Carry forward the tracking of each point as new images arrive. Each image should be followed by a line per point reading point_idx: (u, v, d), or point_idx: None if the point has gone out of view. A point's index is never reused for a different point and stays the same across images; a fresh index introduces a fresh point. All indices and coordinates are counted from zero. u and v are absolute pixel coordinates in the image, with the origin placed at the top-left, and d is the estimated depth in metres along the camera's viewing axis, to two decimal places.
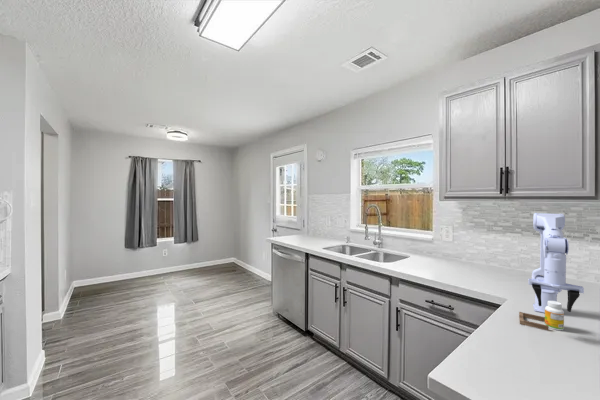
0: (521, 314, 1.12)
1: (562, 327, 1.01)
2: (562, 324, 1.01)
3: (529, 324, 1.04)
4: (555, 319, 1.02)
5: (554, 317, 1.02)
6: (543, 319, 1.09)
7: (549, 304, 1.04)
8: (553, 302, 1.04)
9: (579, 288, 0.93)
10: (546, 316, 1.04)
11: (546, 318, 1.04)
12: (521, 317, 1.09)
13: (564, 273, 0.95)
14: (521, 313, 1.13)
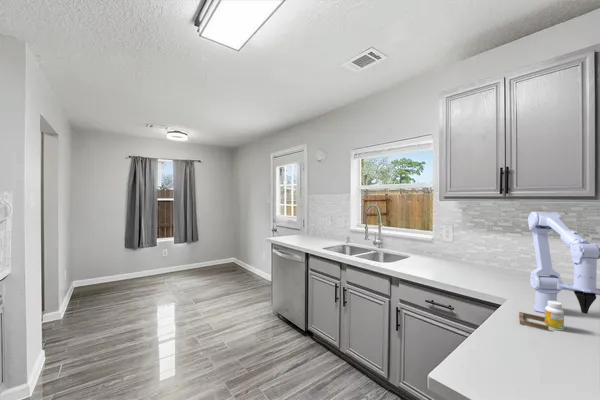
0: (521, 314, 1.12)
1: (562, 327, 1.01)
2: (562, 324, 1.01)
3: (529, 324, 1.04)
4: (555, 319, 1.02)
5: (554, 317, 1.02)
6: (543, 319, 1.09)
7: (549, 304, 1.04)
8: (553, 302, 1.04)
9: None
10: (546, 316, 1.04)
11: (546, 318, 1.04)
12: (521, 317, 1.09)
13: (595, 278, 0.96)
14: (521, 313, 1.13)
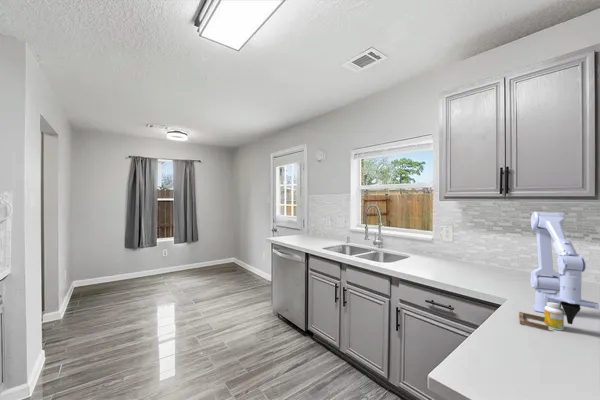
0: (521, 314, 1.12)
1: (562, 327, 1.01)
2: (562, 324, 1.01)
3: (529, 324, 1.04)
4: (555, 319, 1.02)
5: (554, 317, 1.02)
6: (543, 319, 1.09)
7: (548, 304, 1.04)
8: (552, 302, 1.04)
9: (594, 304, 0.97)
10: (546, 316, 1.04)
11: (545, 318, 1.05)
12: (521, 317, 1.09)
13: (580, 290, 0.99)
14: (521, 313, 1.13)
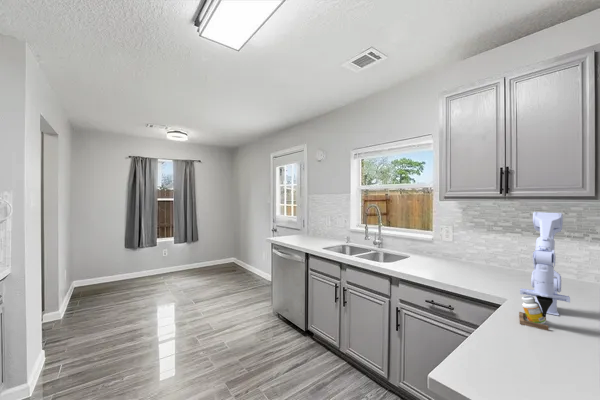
0: (521, 314, 1.12)
1: (543, 320, 1.04)
2: (542, 317, 1.05)
3: (529, 324, 1.04)
4: (534, 314, 1.05)
5: (532, 312, 1.05)
6: None
7: (523, 300, 1.08)
8: (526, 297, 1.08)
9: (566, 298, 1.01)
10: (526, 313, 1.08)
11: (526, 315, 1.08)
12: (521, 317, 1.09)
13: (552, 283, 1.03)
14: (521, 313, 1.13)
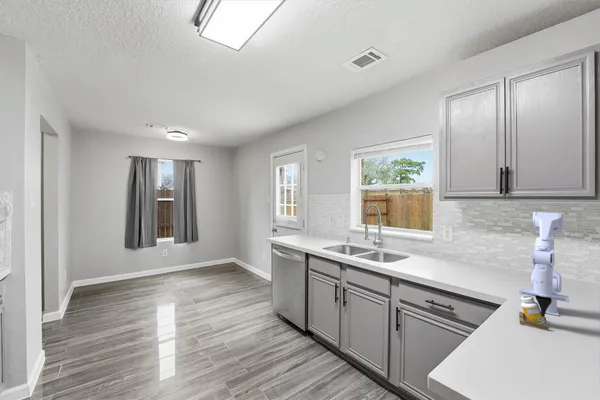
0: (521, 314, 1.12)
1: (542, 320, 1.05)
2: (541, 317, 1.05)
3: (529, 324, 1.04)
4: (533, 314, 1.05)
5: (531, 312, 1.06)
6: None
7: (522, 300, 1.08)
8: (525, 297, 1.09)
9: (565, 297, 1.01)
10: (525, 313, 1.08)
11: (525, 315, 1.08)
12: (521, 317, 1.09)
13: (551, 283, 1.03)
14: (521, 313, 1.13)
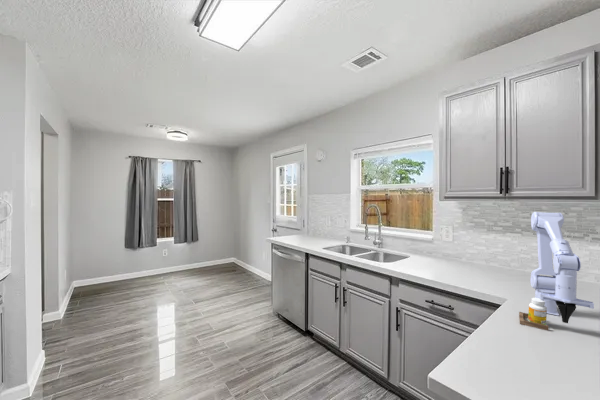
0: (521, 314, 1.12)
1: (544, 323, 1.04)
2: (545, 320, 1.04)
3: (529, 324, 1.04)
4: (538, 316, 1.04)
5: (538, 314, 1.05)
6: None
7: (533, 301, 1.06)
8: (537, 299, 1.06)
9: (589, 304, 0.97)
10: (530, 313, 1.07)
11: (529, 314, 1.07)
12: (521, 317, 1.09)
13: (575, 289, 0.99)
14: (521, 313, 1.13)
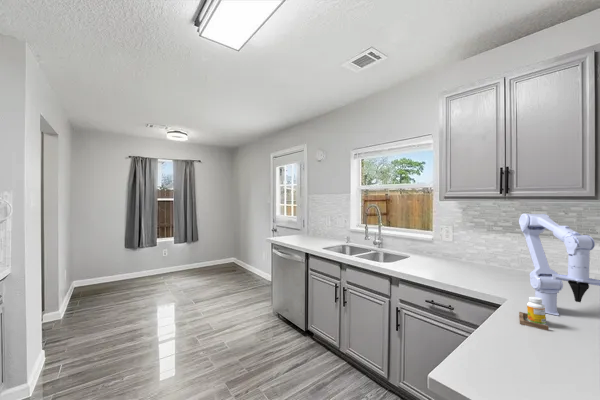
0: (521, 314, 1.12)
1: (544, 322, 1.05)
2: (544, 319, 1.05)
3: (529, 324, 1.04)
4: (538, 314, 1.05)
5: (537, 313, 1.05)
6: None
7: (531, 300, 1.07)
8: (534, 298, 1.08)
9: None
10: (529, 312, 1.07)
11: (529, 314, 1.07)
12: (521, 317, 1.09)
13: (588, 268, 1.01)
14: (521, 313, 1.13)
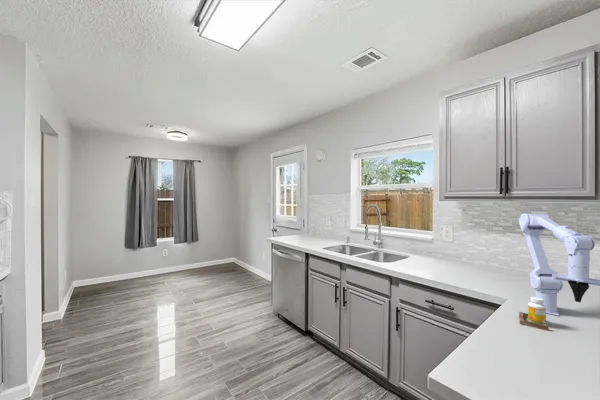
0: (521, 314, 1.12)
1: (545, 322, 1.05)
2: (545, 319, 1.05)
3: (529, 324, 1.04)
4: (540, 315, 1.05)
5: (539, 313, 1.05)
6: None
7: (533, 300, 1.07)
8: (536, 298, 1.07)
9: None
10: (530, 312, 1.07)
11: (530, 314, 1.07)
12: (521, 317, 1.09)
13: (588, 268, 1.01)
14: (521, 313, 1.13)
